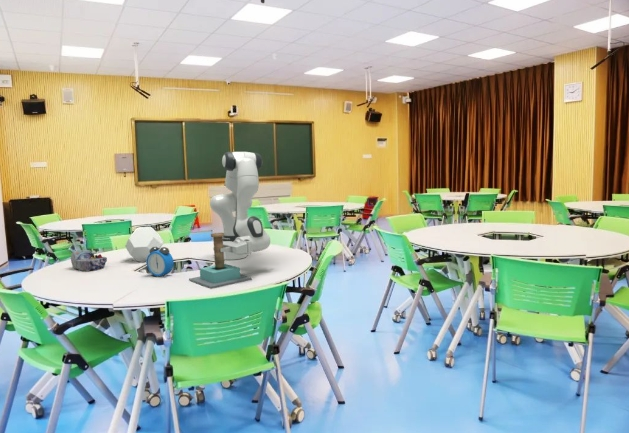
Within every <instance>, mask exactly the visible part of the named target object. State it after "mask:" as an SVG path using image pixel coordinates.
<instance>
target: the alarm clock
mask: <svg viewBox="0 0 629 433" xmlns="http://www.w3.org/2000/svg"><path fill="white" fill-rule="evenodd" d="M159 249H160V250H159ZM149 252H150V254H149V255H148V257H147V261H146V267H147V270H148V272H149V273H150V274H151V275H152V277H163V278H164V276H165V275H168V274H170V273H171V272H172V271H173V268H174V263H175V262H174V257H173V255H172V254H171V252H170V249H169V248H168V247H166V246H161V248H158V247H152V248H151V249H150V251H149Z"/></svg>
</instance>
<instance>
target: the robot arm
mask: <svg viewBox="0 0 629 433" xmlns="http://www.w3.org/2000/svg"><path fill="white" fill-rule="evenodd" d="M221 163H222V164H221V165H222V166H223V167H222V168H223V169H224V170H225V171H226V174H225V181H224V184H225V187H226V189H227V190H229V191H231V193H221V194H220V193H219V194H217V195H213V196H212V197H211V199H210V202H209V206H210V208H211V210H212V211H213V212H214V213H215V214H217V216H218V217H219V218H220V219H221V222H222V228H223V233H224V234H225V236H223V248H220V249H219V251H220V252H224V261H225V260H226V261H227V260H228V261H231V260H239V259H244V258H246V257H247V256H249V255H251V254H252V252H253V253H257V252H261V251H265V250H267V249H268V248H269V247H270V246H271V236H270V235H269V234H268V232H266V230H265V229H264V227H263V222H262V220H261V219H260V218H259V217H257V216H250V217H248V210H249V209H251V207H252V205H253V197H254V196H255V195H256V194H257V192H258V190H259V185H260V180H259V172H258V171H260V170H261V169H262V166H263V158H262V155H261V154H260V153H257V152H249V151H227V152H226V151H225V152H224V153H223V155H222V160H221ZM233 212H235V216H234V215H233ZM213 251H214V246H213ZM213 257H214V258H215V256H214V255H213Z"/></svg>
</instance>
